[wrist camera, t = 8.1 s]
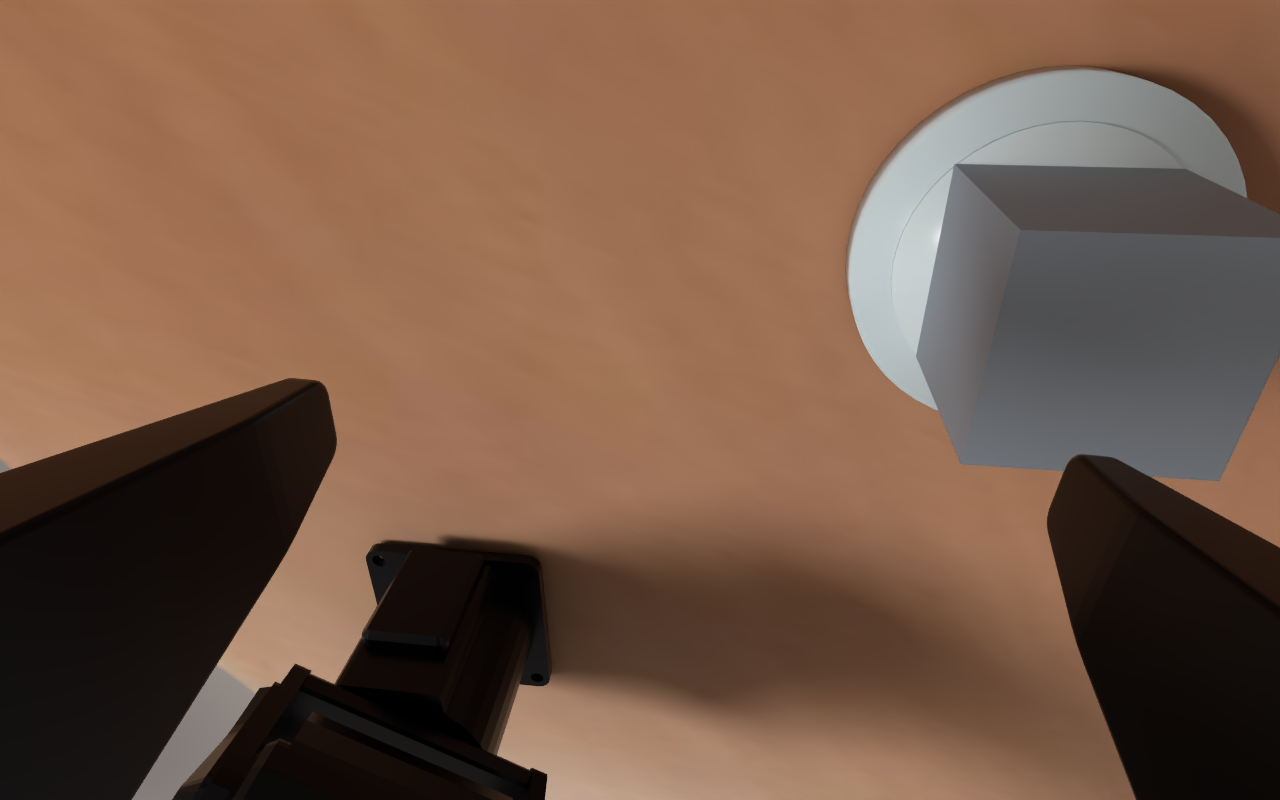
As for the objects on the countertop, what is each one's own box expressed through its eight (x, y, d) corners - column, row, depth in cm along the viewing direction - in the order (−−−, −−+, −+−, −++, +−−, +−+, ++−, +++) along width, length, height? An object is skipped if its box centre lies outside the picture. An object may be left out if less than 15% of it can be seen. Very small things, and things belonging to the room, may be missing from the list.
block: (1116, 366, 19) (1219, 481, 15) (915, 356, 20) (960, 464, 16) (1186, 168, 17) (1333, 239, 13) (954, 163, 17) (1020, 230, 13)
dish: (1149, 410, 21) (1173, 437, 20) (827, 392, 22) (831, 417, 21) (1283, 66, 17) (1324, 74, 16) (871, 64, 18) (880, 71, 17)
